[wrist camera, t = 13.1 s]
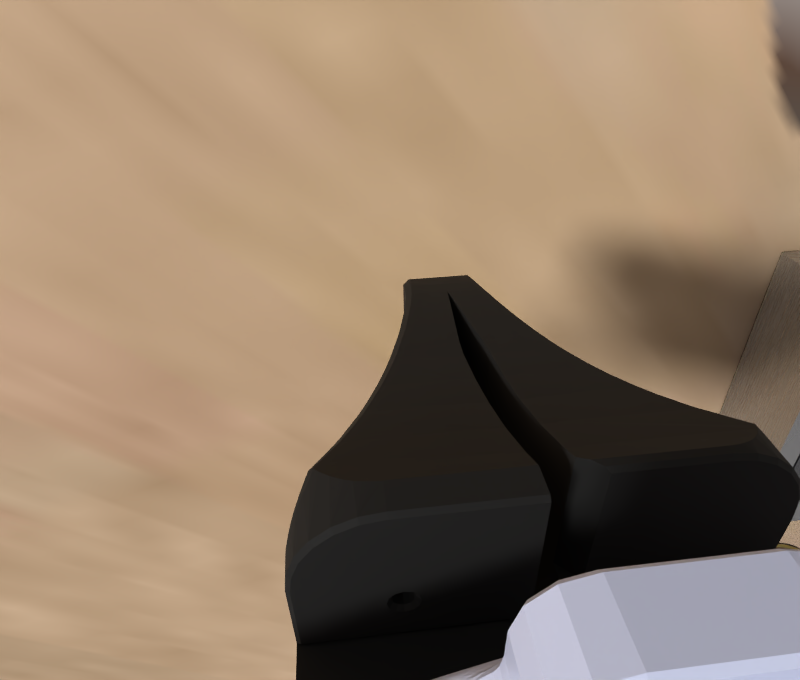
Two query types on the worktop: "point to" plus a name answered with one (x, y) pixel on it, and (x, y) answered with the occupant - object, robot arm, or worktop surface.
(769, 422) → the rack
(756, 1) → the worktop surface
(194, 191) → the worktop surface
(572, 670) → the robot arm
